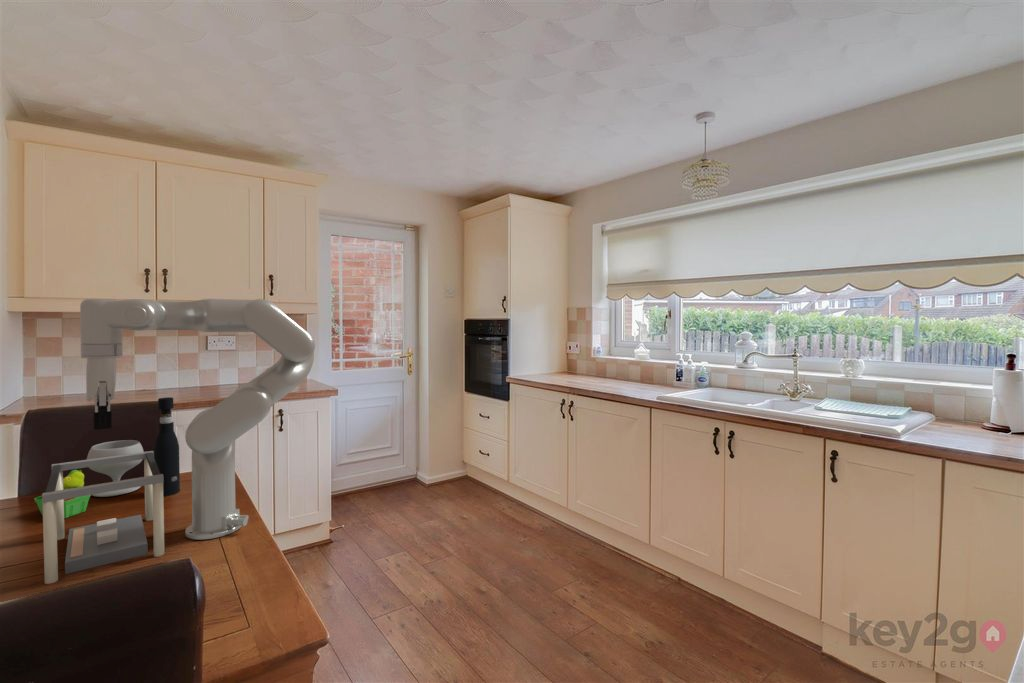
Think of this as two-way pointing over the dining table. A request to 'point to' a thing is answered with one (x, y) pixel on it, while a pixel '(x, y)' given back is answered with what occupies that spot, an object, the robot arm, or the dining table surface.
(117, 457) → the rectangular top frame
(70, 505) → the fruit basket
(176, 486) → the dark water bottle
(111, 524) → the beige small block
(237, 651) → the dining table surface
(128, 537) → the four-post gantry frame
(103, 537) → the pale grey block
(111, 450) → the chalice
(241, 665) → the dining table surface
